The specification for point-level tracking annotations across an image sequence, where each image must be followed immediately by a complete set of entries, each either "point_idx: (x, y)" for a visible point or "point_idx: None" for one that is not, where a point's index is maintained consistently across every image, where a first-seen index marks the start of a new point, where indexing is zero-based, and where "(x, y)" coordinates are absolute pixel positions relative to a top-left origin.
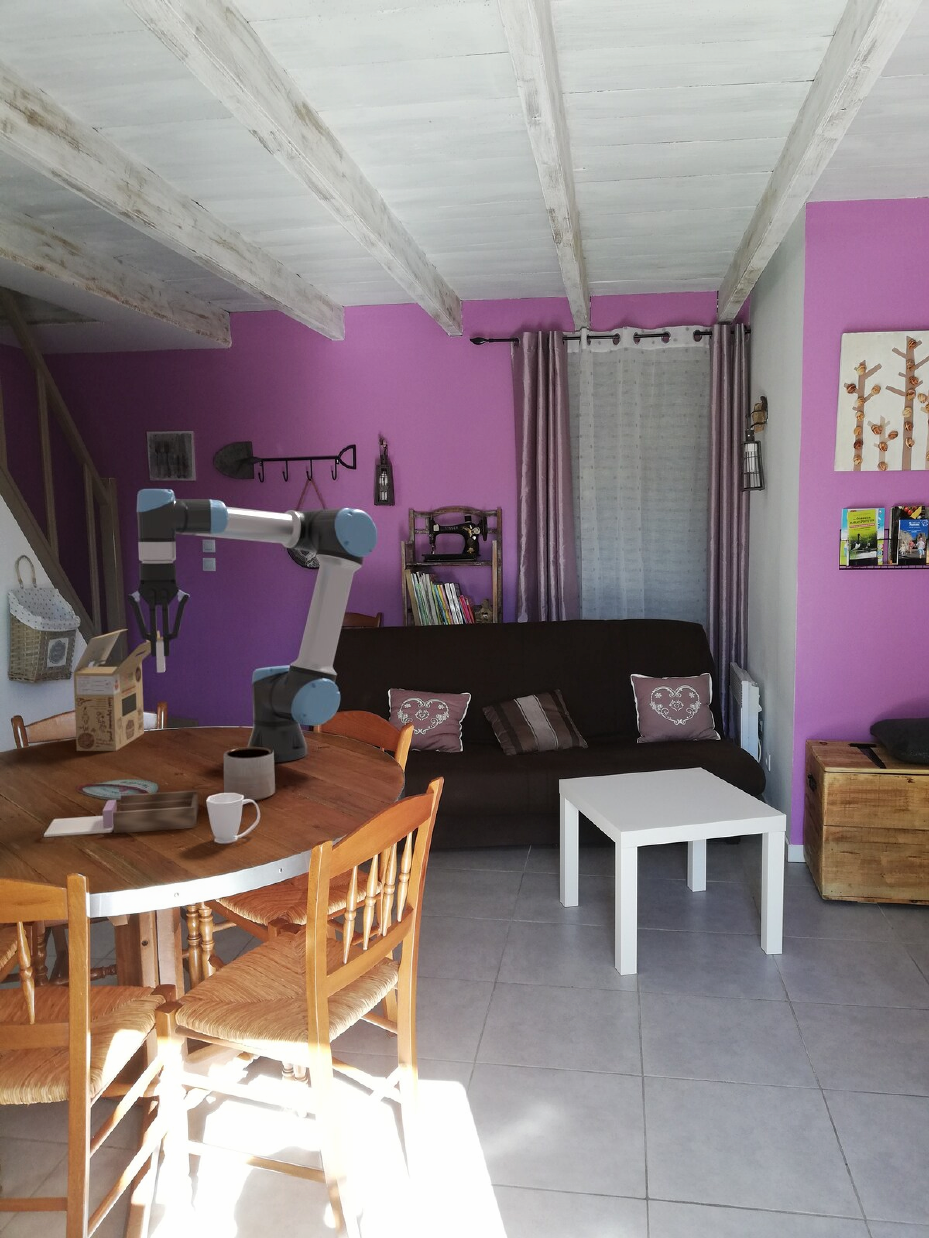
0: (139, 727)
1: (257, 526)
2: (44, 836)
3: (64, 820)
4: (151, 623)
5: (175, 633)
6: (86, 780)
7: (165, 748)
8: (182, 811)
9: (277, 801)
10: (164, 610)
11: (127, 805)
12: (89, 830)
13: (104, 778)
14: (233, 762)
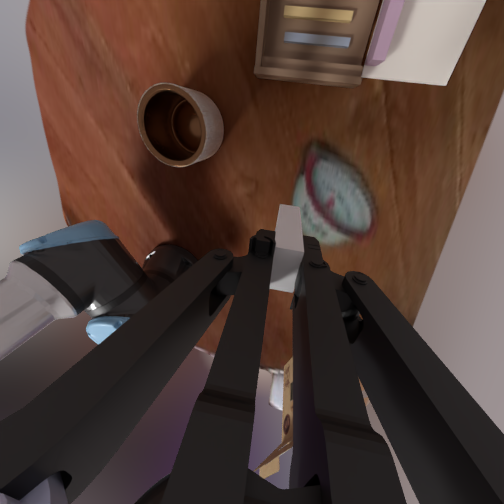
0: (288, 368)
1: None
2: None
3: (435, 71)
4: (334, 324)
5: (213, 260)
6: (359, 254)
7: (271, 323)
8: None
9: (162, 81)
10: (234, 395)
11: (352, 65)
12: None
13: (340, 254)
14: (194, 96)
